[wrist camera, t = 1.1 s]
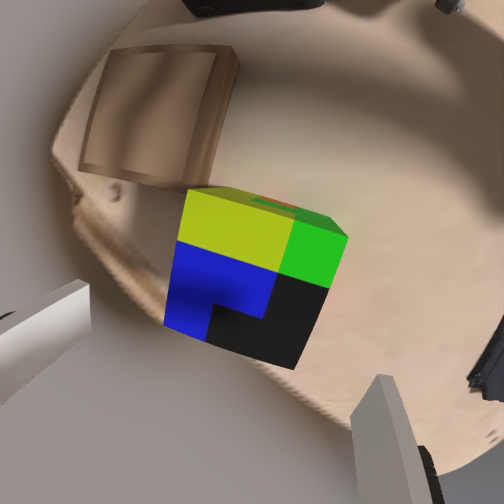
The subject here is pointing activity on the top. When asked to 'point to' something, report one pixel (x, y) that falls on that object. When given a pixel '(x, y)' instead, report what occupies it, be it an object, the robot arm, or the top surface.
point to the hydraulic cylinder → (450, 5)
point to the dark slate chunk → (491, 368)
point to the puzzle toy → (251, 273)
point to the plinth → (160, 114)
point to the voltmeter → (242, 5)
